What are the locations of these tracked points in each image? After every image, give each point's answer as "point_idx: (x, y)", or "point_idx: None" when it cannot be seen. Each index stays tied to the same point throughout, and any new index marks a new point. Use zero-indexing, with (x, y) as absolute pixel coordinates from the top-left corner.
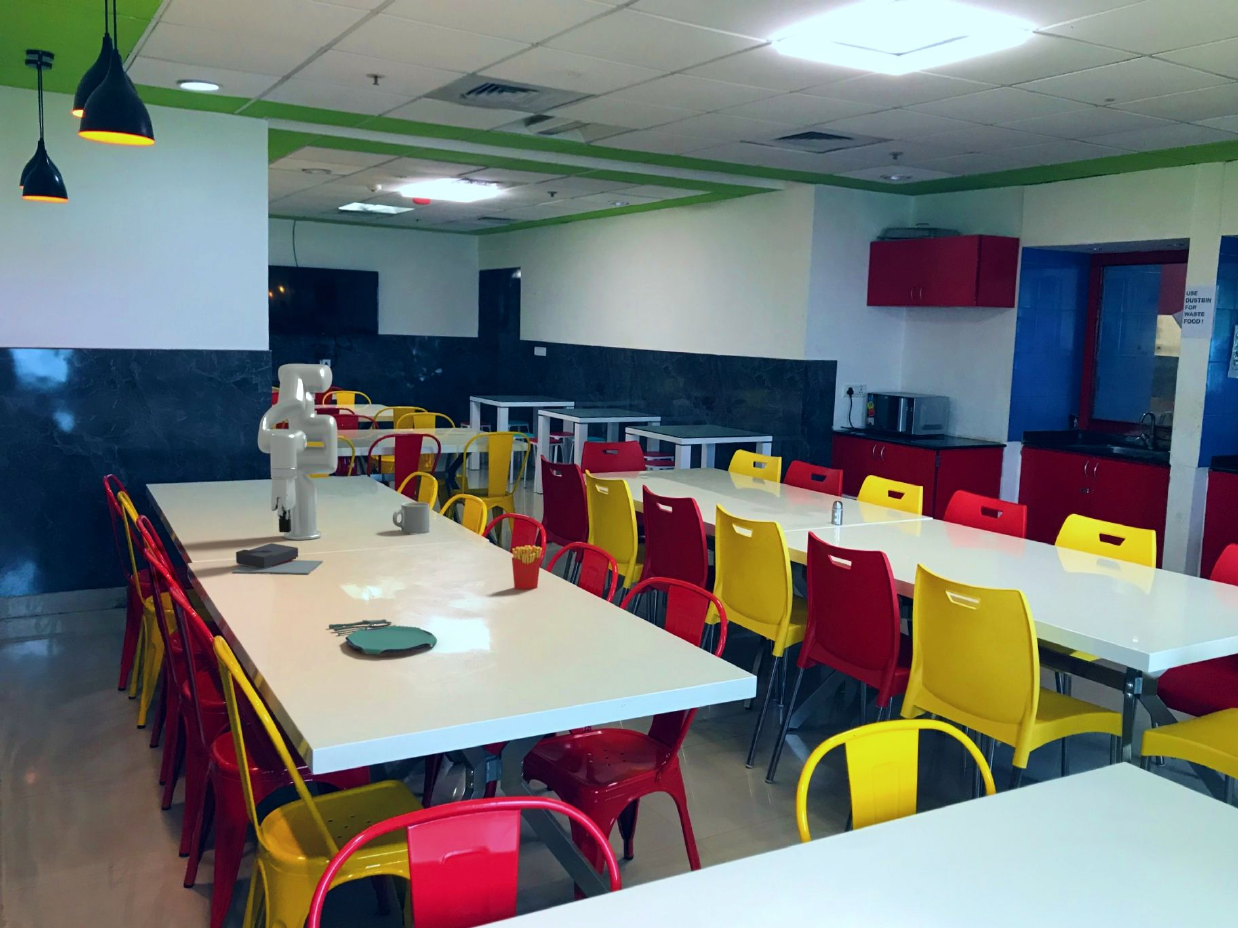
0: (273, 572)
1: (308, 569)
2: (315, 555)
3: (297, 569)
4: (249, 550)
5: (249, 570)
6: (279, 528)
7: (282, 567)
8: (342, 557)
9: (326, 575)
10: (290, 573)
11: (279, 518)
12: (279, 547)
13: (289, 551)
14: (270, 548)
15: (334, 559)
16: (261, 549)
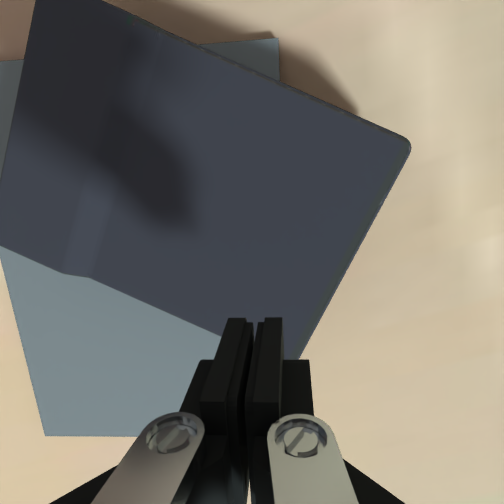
0: (9, 290)
1: (104, 422)
2: (459, 362)
3: (91, 379)
4: (111, 74)
5: (2, 155)
6: (221, 338)
7: (113, 300)
8: (412, 487)
9: (57, 495)
10: (31, 363)
11: (145, 442)
12: (284, 249)
13: (216, 331)
14: (248, 194)
15: (364, 464)
16: (211, 137)
